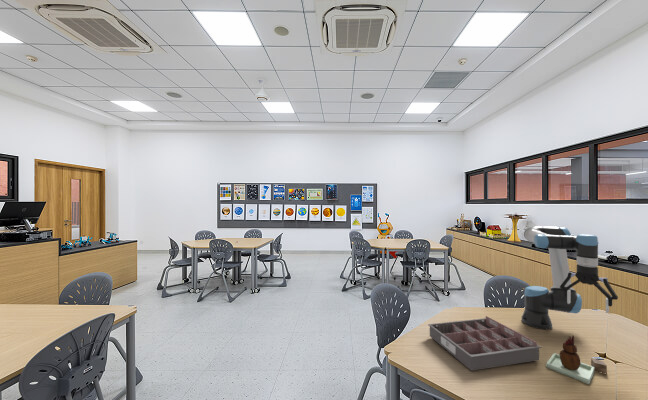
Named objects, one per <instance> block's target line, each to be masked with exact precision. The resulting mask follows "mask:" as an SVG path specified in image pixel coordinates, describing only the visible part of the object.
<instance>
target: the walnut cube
mask: <svg viewBox="0 0 648 400" xmlns="http://www.w3.org/2000/svg"><path fill="white" fill-rule="evenodd" d="M590 366H592V367H595V371H596V373H599V372H602V373H601V374H603V373H606V374H605V375H608V365H607V363H605V361H604V360H600V359H595V358H591V359H590Z"/></svg>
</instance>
